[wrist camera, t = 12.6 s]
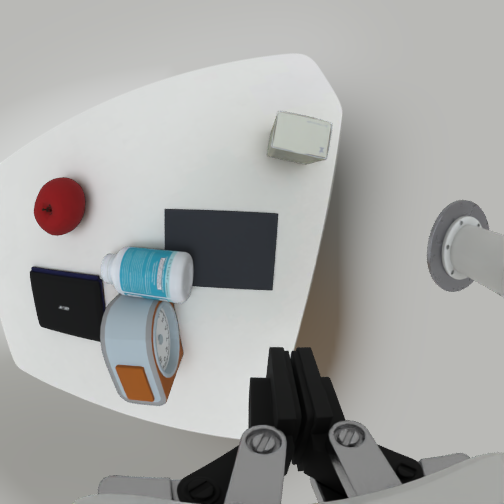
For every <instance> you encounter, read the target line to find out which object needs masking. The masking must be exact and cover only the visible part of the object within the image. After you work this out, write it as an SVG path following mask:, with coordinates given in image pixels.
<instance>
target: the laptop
mask: <svg viewBox="0 0 504 504" xmlns="http://www.w3.org/2000/svg"><path fill="white" fill-rule="evenodd" d="M31 269H32V270H31V272H30V279H31V286H32V291H33V297H34V302H35V307H36V312H37V316H38V320H39V324H40V326H41V327H44V328H47V329H51V330H54V331H58V332H62V333H65V334H69V335H73V336H77V337H81V338H86V339H90V340H94V341H99V342H101V341H100V331H101V323H102V318H103V315H104V312H105V303H104V295H103V293H104V291H103V283H102V280H101V279H99V276H95V275H87V274H79V273H72V272H65V271H57V270H50V269H44V268H37V267H32V268H31Z"/></svg>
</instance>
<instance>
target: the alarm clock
mask: <svg viewBox="0 0 504 504" xmlns="http://www.w3.org/2000/svg"><path fill="white" fill-rule="evenodd" d="M100 341H101V349H102V353H103V357H104V360H105V363H106V366H107V368H108V371H109V373H110V376H111V378H112V380H113V383H114V385H115V387H116V390H117V392H118V394H119V395H120V397H121V398H123V399H124V400H125V401H127V402H130V403H135V404H144V405H154V406H161V405H163V404H165V403H166V402H167V399H168V396H169V393H170V390H171V387H172V384H173V381H174V379H175V376H176V373H177V370H178V367H179V364H180V361H181V359H182V356H183V349H182V345H181V340H180V335H179V328H178V322H177V318H176V314H175V311H174V305H173V303H172V302H165V301H159V300H152V299H145V298H139V297H133V296H127V295H122V294H120V293H119V294H118V295H117V296H116V297H115V298H114V299H113V300H112V301H111V302H110V303H109V305H108V306H107V307H106V310H105V312H104V315H103V318H102V323H101V331H100Z"/></svg>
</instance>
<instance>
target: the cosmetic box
mask: <svg viewBox="0 0 504 504" xmlns="http://www.w3.org/2000/svg"><path fill="white" fill-rule="evenodd" d="M331 132H332V123H330V122H327V121H324V120H321V119H317V118H313V117H309V116H304V115H300V114H295V113H290V112H284V111H278V113H277V116H276V119H275V122H274V125H273V128H272V131H271V136H270V140H269V145H268V151H267V156H269V157H273V158H278V159H282V160H287V161H292V162H296V163H301V164H310V163H314V162H317V161H321V160H326V159H327V155H328V150H329V145H330V139H331Z"/></svg>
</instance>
